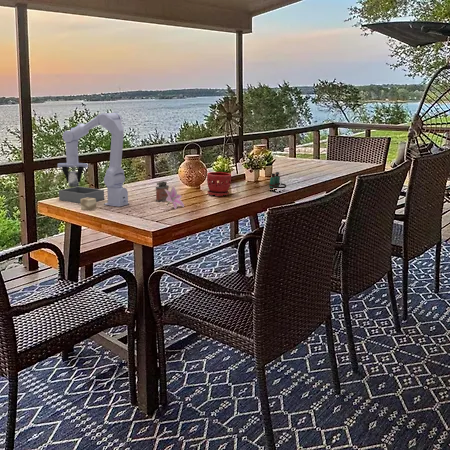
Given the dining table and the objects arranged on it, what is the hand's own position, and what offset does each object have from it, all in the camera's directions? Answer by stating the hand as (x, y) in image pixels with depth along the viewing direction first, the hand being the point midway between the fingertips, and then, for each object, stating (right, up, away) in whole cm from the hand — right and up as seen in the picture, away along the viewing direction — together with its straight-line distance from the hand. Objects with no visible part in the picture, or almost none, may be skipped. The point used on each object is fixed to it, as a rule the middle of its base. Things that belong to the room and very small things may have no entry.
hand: (73, 181), depth 261 cm
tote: (+4, -9, +1) cm, 10 cm away
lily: (+52, -14, -11) cm, 55 cm away
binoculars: (+107, -3, +34) cm, 112 cm away
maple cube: (+12, -14, -18) cm, 26 cm away
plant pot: (+73, -6, +20) cm, 76 cm away
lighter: (+45, -10, +3) cm, 46 cm away
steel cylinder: (0, -2, 0) cm, 2 cm away
